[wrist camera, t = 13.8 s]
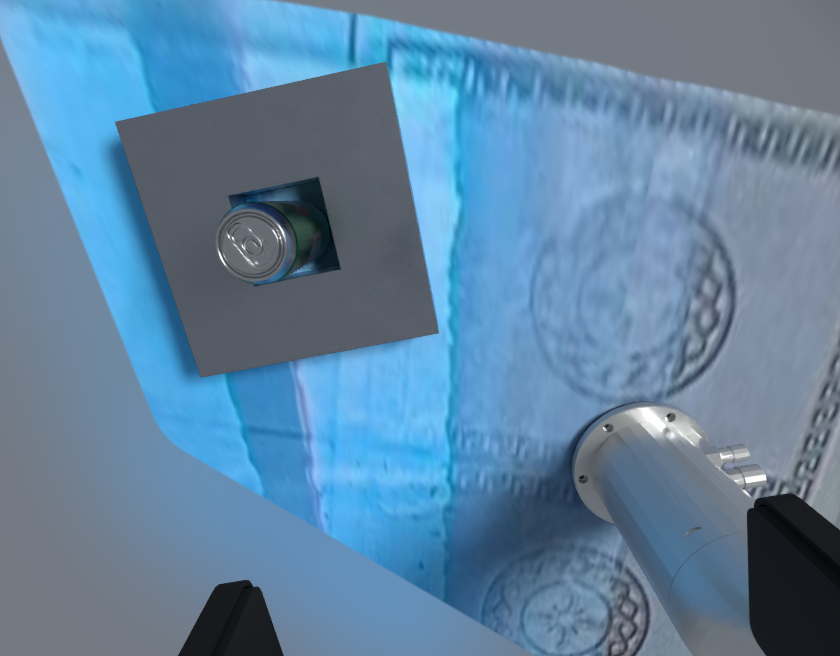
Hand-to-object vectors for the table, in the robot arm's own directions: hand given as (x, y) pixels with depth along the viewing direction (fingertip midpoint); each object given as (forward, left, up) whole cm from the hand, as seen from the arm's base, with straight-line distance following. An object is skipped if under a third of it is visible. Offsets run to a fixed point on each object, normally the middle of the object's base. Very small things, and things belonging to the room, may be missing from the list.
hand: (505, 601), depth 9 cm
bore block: (+11, -7, -33) cm, 36 cm away
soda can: (+11, -7, -34) cm, 36 cm away
